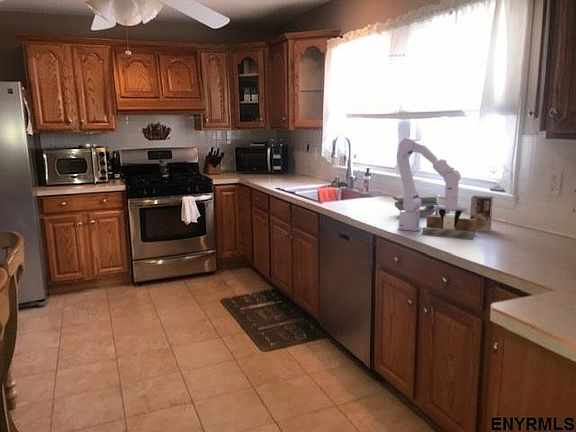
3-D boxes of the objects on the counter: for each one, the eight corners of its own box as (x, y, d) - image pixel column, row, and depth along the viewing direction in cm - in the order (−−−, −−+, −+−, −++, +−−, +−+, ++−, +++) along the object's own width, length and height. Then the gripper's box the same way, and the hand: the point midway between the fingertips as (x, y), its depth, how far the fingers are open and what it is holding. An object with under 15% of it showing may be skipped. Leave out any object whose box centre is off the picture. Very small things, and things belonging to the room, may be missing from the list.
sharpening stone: (434, 213, 267) (435, 194, 264) (441, 216, 259) (442, 196, 257) (392, 215, 263) (393, 196, 261) (397, 218, 256) (398, 198, 254)
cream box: (442, 231, 217) (443, 216, 216) (445, 228, 223) (446, 213, 221) (453, 232, 215) (453, 217, 214) (455, 229, 221) (456, 214, 219)
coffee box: (491, 229, 227) (493, 196, 224) (489, 232, 222) (491, 198, 219) (471, 227, 232) (473, 195, 229) (468, 230, 227) (471, 197, 223)
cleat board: (421, 234, 219) (422, 219, 217) (426, 229, 229) (427, 215, 227) (472, 239, 209) (473, 224, 207) (475, 234, 219) (476, 219, 217)
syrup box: (437, 221, 246) (438, 194, 243) (449, 222, 243) (450, 195, 240) (434, 223, 241) (436, 195, 238) (446, 225, 238) (448, 196, 235)
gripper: (433, 197, 216) (431, 226, 219) (466, 199, 210) (464, 229, 212) (436, 195, 222) (434, 223, 225) (468, 197, 216) (466, 226, 219)
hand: (449, 226), depth 219 cm, fingers closed on cream box, 4 cm apart
